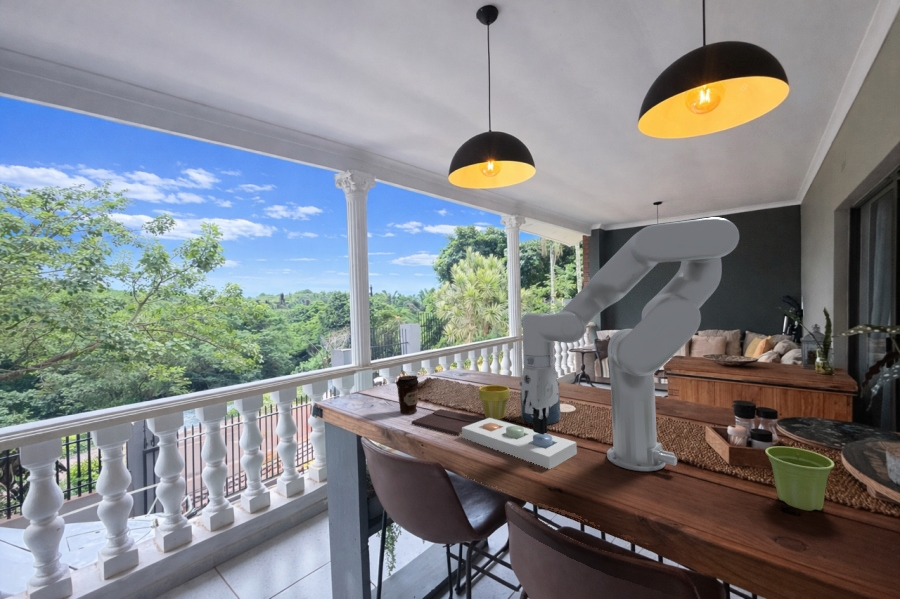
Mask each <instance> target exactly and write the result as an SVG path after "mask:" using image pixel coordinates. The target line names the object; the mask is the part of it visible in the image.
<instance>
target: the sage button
mask: <svg viewBox="0 0 900 599" xmlns="http://www.w3.org/2000/svg"><path fill="white" fill-rule="evenodd" d="M520 426H521V425H517V426H509V427H507V428H506V436H507V437H510V438H513V439H516V440H517V439H519V438H521V437H524V428H525V427H524V428H522V427H523V426H521V427H520Z"/></svg>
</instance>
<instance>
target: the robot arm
mask: <svg viewBox="0 0 900 599" xmlns="http://www.w3.org/2000/svg"><path fill="white" fill-rule="evenodd" d="M739 240H740V231H739V229H738V227H737V226H736V225H735V223H734V222H732V221H730V220H728V219H727V218H722V217H707V218H700V219H692V220H691V219H690V220H683V221H677V222H666V223H658V224H652V225H648V226H645V227H644V228H642V229H640V230H638V231H637V232H636V233H635V234H633V235H632V236H631V237H630V238H629V239H628V240H627V241H626V243H623V244H624V245H622V246H621V247H620V248H619V249H618V251H617V252H616V253H615V254H614V255H612V257H611V258H610V259H609V260H608V261H607V262H606V263H605V264H604V265H603V266H602V267H601V268H600V269H599V270H598V271H597V272H596V273H595V274H594V275H593V276H592V277H591V279H590V280H589V281H588V282H587V283H586V285H585V286H583V288H582V289H581V290H580V291H579V292H578V293H577V294H576V295H575V296H574V297H573V298H572V299H571V300H570V301H569V302H568V303H567V304H566V305H565V306H564V307H563V308H562V309H561V310H560V311H559V312H558V313H555V314H554V313H553V314H550V313H546V312H529V313H526V314H524V315H523V317H522V343H523V344H522V346H523V347H522V353H523V368H522V375H521V376H522V377H521V381H522V404H523V405H524V406H525V413H528V414H531V416H532V417H533V424H532V428H533V429H532V430H533V431H534V432H536V433H539V434H542V435H543V434H545V433H546V434H548V424H547V418H546V417H548V412H549V408H550V407H551V406H553V404H556V403H557V402H558V392H559V386H558V383H557V381H558V376H557V375H558V374H557V371H556V366H555V365H554V364H555V363H554V342H557V343H559V342H560V343H565V344H566V343H567V344H572V343H576V342H579V341H580V340H581V339H582V338H583V337H584V336H585V333H586V327H587V326H588V325H589V324H590V323H591V322H592V321H593V320H594V319H595V318H596V317H597V316H598V315H599V314H600V313H601V312H603V311H604V310H606V309H607V308H608V307H610V306H612V305H614V304H615V303H617V302H619V301H620V300H621V299H623V298H624V297H625V296H626V295H627V294H628V293H629V292H631V290H632V289H634V287H635V286H636V285H638V284H639V282H640V281H641V280H642V279H643V278H645V277H646V275H648V273H649V272H650V271H651V270H653V269H654V267H656V266H657V265H658V264H660V263H670V262H671V263H674V262H681V263H680V267H679V269H678V271H677V272H676V273H675V275H674V276H673V277H672V278H671V280H670V281H669V282H668V283H667V284H666V285H665V286H664V287H663V288H662V289H660V291H659V292H658V293H657V294H656V295H655V296H653V298H651V299H650V300H649V301H648V302H647V303H646V304H645V305H644V307H643V309H642V311H641V320H640V321H639V322H638V323H637V324H636V325H635V326H634V327H633V328H625V329H624V328H623V329H620V330H618V331H616V332H615V333H614V334H612V336H611V337H610V339H609V342H608V346H607V359H608V367H609V379H610V392H611V394H610V398H611V416H612V417H611V418H612V419H611V420H612V422H611V423H612V441H613V443H612V445H613V446H612V447H610V448H609V449H608V450H607V451H606V456H607V459H608V460H609V462H610V463H612V464H614V465H615V466H618V467H621V468H624V469H627V470H631V471H638V472H653V471H654V472H655V471H659V470H661V469H663V468H664V467H666V464H668V465H671V466H677V463H678V457H677V456H676V454H675V453H674V452H671V451H666V450H664V449H663V448H662V442H658V440H657V439H658V438H657V435H658V434H657V418H656V417H657V415H656V412H657V410H656V389H655V378H654V377H655V376H654V373H655V372H657V371H658V370H659V369H661V368H662V367H663V366H664V365H666V364H667V362H668V361H669V360H671V359H672V357H674V356H675V355H676V354H677V353H679V351H680V350H681V349H682V348H683V347H684V346H685V345H686V344H687V343H688V342H689V341H690V340H691V339H692V338H693V337H694V336H695V334H696V333H697V332H698V330H699V328H700V325H701V322H702V315H701V310H700V309H701V307H702V306H703V305H704V304H705V302H706V301H707V300H708V299H709V298H710V297H711V296H712V295H713V293H715V291H716V290H717V288H718V287H719V286H720V282H721V279H722V273H723V272H722V270H723V268H722V266H723V264H722V257H723V258H724V257H725V256H727V255H729V254H731V253H732V252H733V251H734V250H735V249H736V248H737V246H738V244H739Z"/></svg>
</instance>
